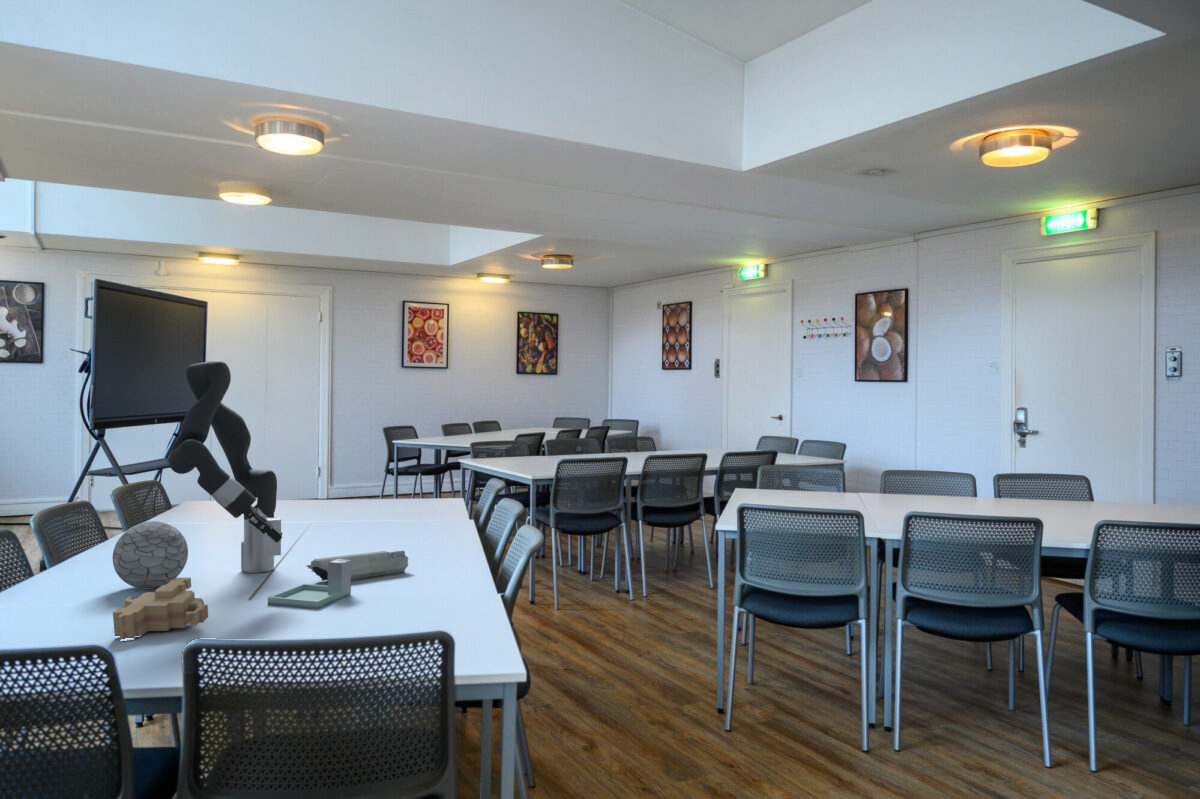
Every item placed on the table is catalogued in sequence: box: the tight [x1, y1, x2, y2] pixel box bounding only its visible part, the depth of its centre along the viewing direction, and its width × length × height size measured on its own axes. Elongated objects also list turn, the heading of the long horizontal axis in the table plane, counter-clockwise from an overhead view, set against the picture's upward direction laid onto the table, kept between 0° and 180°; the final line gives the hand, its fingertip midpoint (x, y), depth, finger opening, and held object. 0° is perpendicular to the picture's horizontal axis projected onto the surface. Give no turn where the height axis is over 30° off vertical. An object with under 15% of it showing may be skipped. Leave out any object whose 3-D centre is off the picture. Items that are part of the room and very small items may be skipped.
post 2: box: [327, 559, 352, 595], centre depth 232 cm, size 4×4×10 cm
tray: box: [267, 583, 352, 610], centre depth 228 cm, size 16×16×2 cm
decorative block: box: [306, 550, 409, 582], centre depth 254 cm, size 8×30×8 cm, turn 129°
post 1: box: [263, 516, 282, 557], centre depth 226 cm, size 4×4×10 cm
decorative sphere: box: [112, 520, 189, 589], centre depth 239 cm, size 20×20×20 cm
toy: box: [112, 577, 209, 641], centre depth 199 cm, size 10×20×20 cm
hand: (279, 538), depth 227 cm, fingers closed on post 1, 4 cm apart
